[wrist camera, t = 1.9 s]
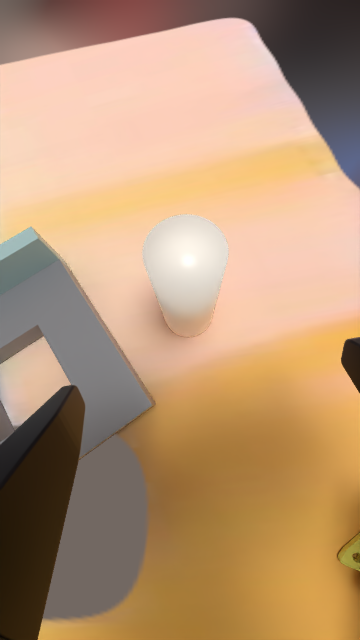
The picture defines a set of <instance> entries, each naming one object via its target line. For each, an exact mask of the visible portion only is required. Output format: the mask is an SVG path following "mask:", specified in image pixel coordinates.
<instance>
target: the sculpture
mask: <svg viewBox="0 0 360 640" xmlns="http://www.w3.org/2000/svg"><path fill="white" fill-rule="evenodd" d="M354 553H357V557H356V558H353V557H352V555H353V554H354ZM338 559H339V561H340V562H341V563H342V564H344V565H346V566H348V567H351V568H353V569H355V570H358V571H360V533H359V534H357V535H356V536H355V537H354V538H353V539H352V540H351V541H349V542H348V543H347V544H346V545H345V546H344V547H343V548H342V549H341V551H340V552H339V554H338Z"/></svg>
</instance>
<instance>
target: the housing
mask: <svg viewBox="0 0 360 640" xmlns="http://www.w3.org/2000/svg"><path fill="white" fill-rule="evenodd" d="M42 336H44V337H45V338H46V340H47V342H48V344H49V346H50V347H51V349H52V351H53V353H54V354H55V356H56V358H57V360H58V362H59V363H60V365H61V367H62V369H63V371H64V372H65V374H66V376H67V378H68V379H69V381H70V383H71V385H76V386H77V387H78V389H79V391H80V393H81V395H82V398H83V400H84V402H85V416H84V425H83V433H82V442H81V450H80V456H79V460H80V459H81V458H83V457H84V456H85V455H87V454H88V453H89V452H91V451H92V450H93V449H95V448H96V447H97V446H99V445H100V444H102V443H103V442H104V441H106V440H107V439H109V438H110V437H111V436H113V435H114V434H116V433H117V432H118V431H120V430H121V429H122V428H124V427H125V426H127V425H128V424H129V423H131V422H132V421H133V420H135V419H136V418H138V417H139V416H140V415H142V414H143V413H144V412H146V411H147V410H149V409H150V408H151V407H153V406H154V405H155V404H156V403H155V401H154V400H153V398H152V397H151V395H150V394H149V392H148V391H147V389H146V387H145V386H144V384H143V383H142V381H141V380H140V378H139V376H138V375H137V373H136V372H135V370H134V369H133V367H132V366H131V364H130V362H129V361H128V359H127V358H126V356H125V355H124V353H123V351H122V350H121V348H120V347H119V345H118V344H117V342H116V341H115V339H114V337H113V336H112V334H111V333H110V331H109V330H108V328H107V327H106V325H105V323H104V322H103V320H102V319H101V317H100V316H99V314H98V312H97V311H96V309H95V308H94V306H93V305H92V303H91V302H90V300H89V298H88V297H87V295H86V294H85V292H84V291H83V289H82V288H81V286H80V284H79V283H78V281H77V280H76V278H75V277H74V275H73V273H72V272H71V270H70V269H69V267H68V266H67V264H66V263H65V261H64V260H63V259H62V258H61V257H60V256H59V255H58V254H57V253H56V252H55V250H54V249H53V248H52V247H51V246H50V245H49V244H48V243H47V242H46V241H45V240H44V239H43V238H42V237H41V236H40V235H39V234H38V233H37V232H36V231H35V230H34V229H33V228H32V227H29V228H28V229H26V230H24V231H22V232H21V233H19V234H17V235H16V236H14V237H12V238H11V239H9V240H7V241H5V242H4V243H2V244H0V363H2V362H4V361H5V360H7V359H8V358H10V357H11V356H13V355H14V354H16V353H17V352H19V351H20V350H22V349H24V348H25V347H27V346H28V345H30V344H31V343H33V342H34V341H36V340H37V339H39V338H40V337H42ZM13 432H14V429H13V427H12V424H11V422H10V420H9V418H8V416H7V414H6V412H5V410H4V408H3V405H2V403H1V401H0V444H1V443H2V442H3V441H5V440H6V439H7V438H8V437H9V436H10V435H11V434H12V433H13Z"/></svg>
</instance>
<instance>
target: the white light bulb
mask: <svg viewBox="0 0 360 640" xmlns="http://www.w3.org/2000/svg"><path fill="white" fill-rule="evenodd" d="M227 260H228V244H227V241H226V238H225V236H224V234H223V233H222V231H221V230H220V229H219V228H218V227H217V226H216V225H215V224H214V223H212V222H211V221H209V220H208V219H205V218H203V217H200V216H196V215H188V214H185V215H176V216H173V217H170V218H167V219H165V220H163V221H161V222H160V223H159V224H157V225H156V226H155V227H154V228H153V229H152V230H151V231H150V232H149V234H148V236H147V237H146V240H145V242H144V245H143V262H144V265H145V268H146V271H147V273H148V276H149V279H150V281H151V284H152V287H153V289H154V292H155V294H156V297H157V300H158V302H159V305H160V308H161V310H162V313H163V316H164V318H165V321H166V323H167V325H168V327H169V328H170V329H171V330H172V331H173V332H174V333H175V334H177V335H179V336H183V337H194V336H197V335H199V334H201V333H203V332H204V331H205V330H206V329H207V328H208V327H209V325H210V323H211V320H212V316H213V313H214V309H215V305H216V301H217V298H218V294H219V290H220V286H221V283H222V279H223V275H224V271H225V268H226V264H227Z"/></svg>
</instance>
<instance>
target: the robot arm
mask: <svg viewBox="0 0 360 640" xmlns="http://www.w3.org/2000/svg"><path fill="white" fill-rule="evenodd" d="M341 362H342V365H343V367H344V369H345V370H346V372H347V374H348V375H349V377H350V378H351V380H352V382H353V383H354V385H355V387H356V388H357V390H358V391H359V393H360V337H357V338H351V339H347V340H346V341H345V343H344V347H343V352H342V357H341ZM84 416H85V402H84V400H83V398H82V395H81V393H80V391H79V389H78V387H77V386H76V385H70V386H64V387H62V388H61V389H60V390H59V391H58V392H56V393H55V394H54V395H53V396H52V397H51V398H50V399H49V400H48V401H47V402H46V403H45V404H44V405H42V406H41V407H40V408H39V409H38V410H37V411H36V412H35V413H34V414H33V415H32V416H31V417H29V418H28V419H27V420H26V421H25V422H24V423H23V424H22V425H21V426H20V427H19V428H18V429H16V430H15V431H14V432H13V433H12V434H11V435H10V436H9V437H8V438H7V439H6V440H5V441H3V442H2V443H1V444H0V640H38V635H39V631H40V627H41V622H42V618H43V614H44V609H45V604H46V600H47V596H48V592H49V587H50V583H51V578H52V574H53V570H54V565H55V561H56V557H57V552H58V548H59V544H60V539H61V535H62V530H63V526H64V522H65V517H66V513H67V508H68V504H69V500H70V495H71V491H72V487H73V483H74V478H75V474H76V469H77V465H78V461H79V456H80V450H81V442H82V433H83V425H84Z"/></svg>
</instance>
